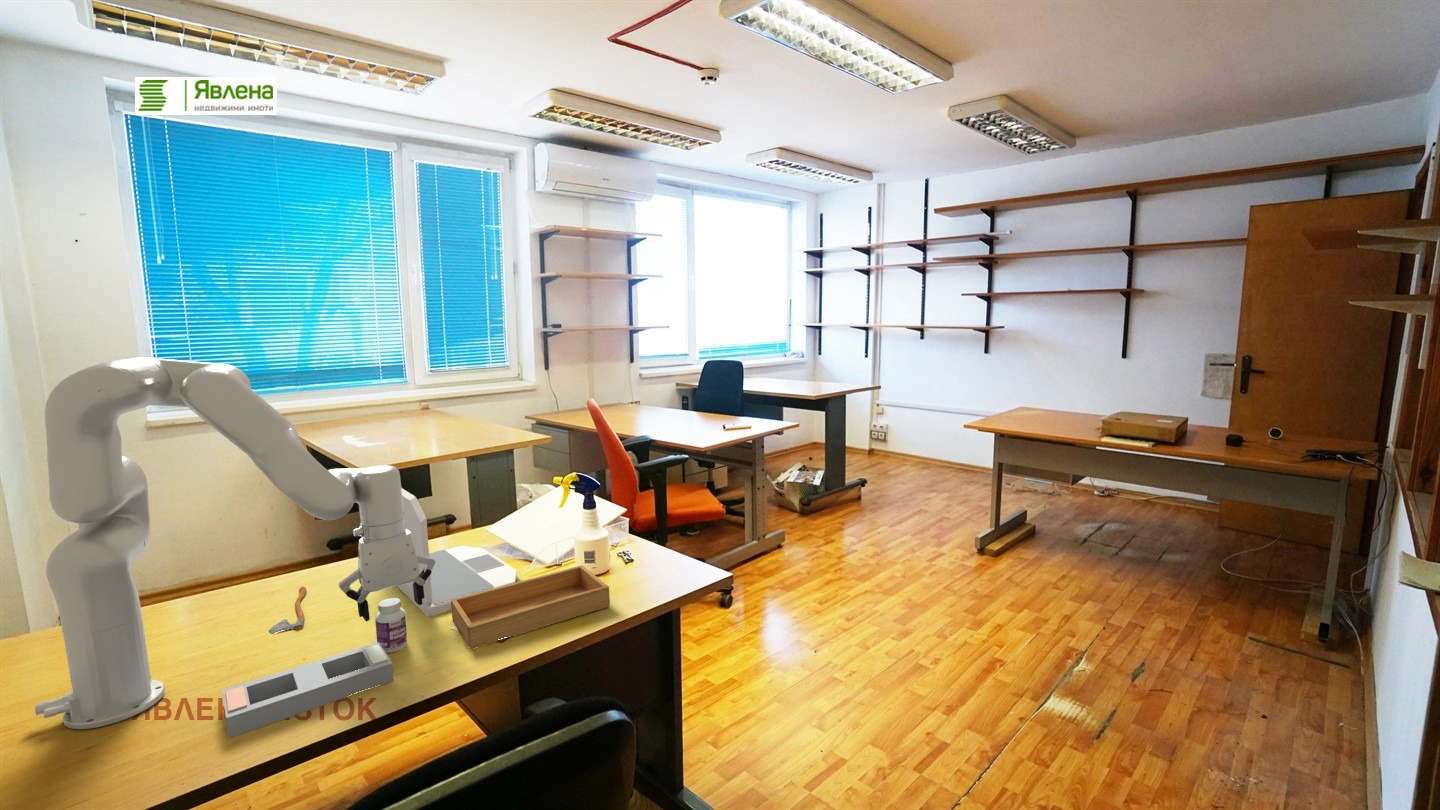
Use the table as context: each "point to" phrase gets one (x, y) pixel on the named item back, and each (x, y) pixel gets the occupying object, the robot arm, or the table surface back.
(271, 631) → the axe
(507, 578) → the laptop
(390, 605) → the pill bottle
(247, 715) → the socket board
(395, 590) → the table surface
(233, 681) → the table surface
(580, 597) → the tray
